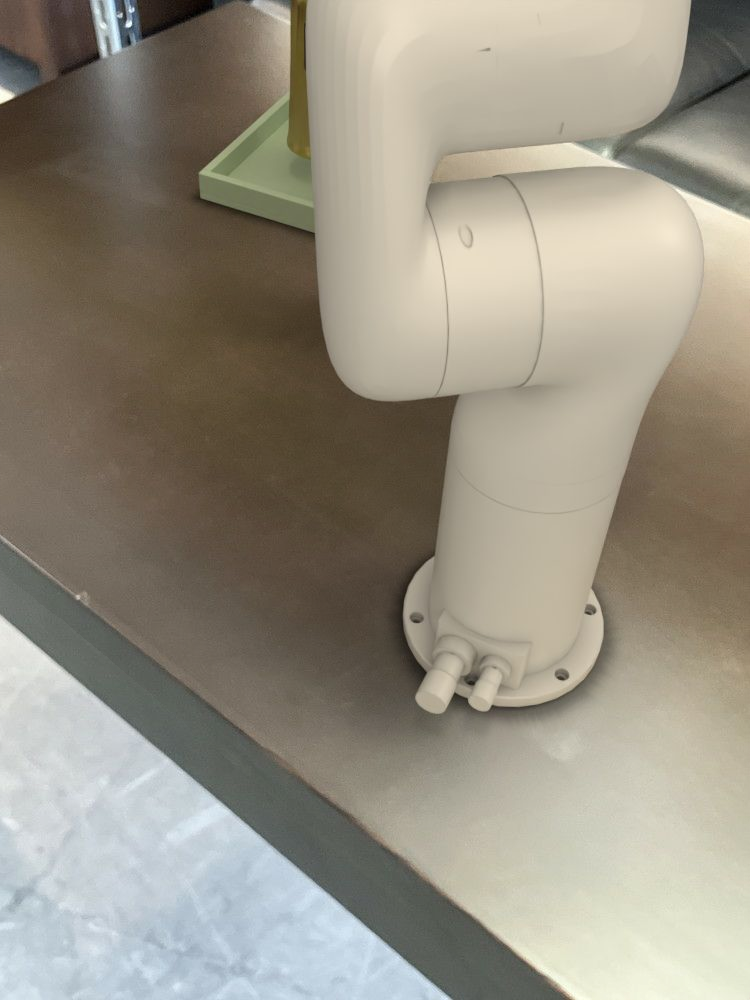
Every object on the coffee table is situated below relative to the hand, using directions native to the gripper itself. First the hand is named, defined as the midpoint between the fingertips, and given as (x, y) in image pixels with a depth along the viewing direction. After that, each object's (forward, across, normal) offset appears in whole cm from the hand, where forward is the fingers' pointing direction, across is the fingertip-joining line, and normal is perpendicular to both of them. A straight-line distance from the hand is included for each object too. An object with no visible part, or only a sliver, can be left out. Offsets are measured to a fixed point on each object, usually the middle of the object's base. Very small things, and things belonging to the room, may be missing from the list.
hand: (321, 51), depth 100 cm
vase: (+9, 0, 0) cm, 9 cm away
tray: (+12, 0, 0) cm, 12 cm away
